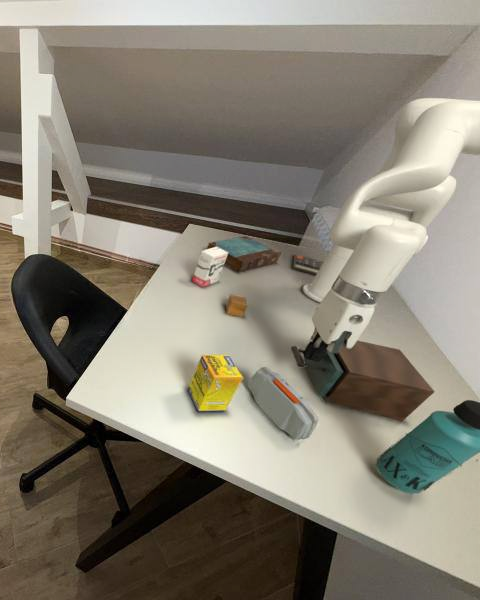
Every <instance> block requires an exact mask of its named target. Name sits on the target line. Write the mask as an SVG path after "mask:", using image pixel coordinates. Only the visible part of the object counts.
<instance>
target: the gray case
mask: <svg viewBox="0 0 480 600" xmlns="http://www.w3.org/2000/svg"><path fill="white" fill-rule="evenodd" d="M247 385H248V388H249V390H250V392H251V394H252V395H253V399H254V402H255V403H256V404H257V406H258V407H259V408H260V410H261V411H262V412H263V413H264V415H266V416H267V418H268V419H269V420H270V421H271V422H272V423H273V424H274V425H275V426H276V427H277V428H278V429H280V430H282V431H284V432H286V433H287V434H288V435H289V436H291V438H293V439H294V440H298V441H299V440H308V439H309V438H310V437H311V436H312V435H313V432H314V430H315V429H316V428H317V424H318V422H319V419H320V418H319V416H318V414H316V412H315V411H314V409H313V408H312V406H311V405H310V403H309V402H308V401H307V399H306V398H305V397H303V395H302V394H300V393H299V392H298V391H297V390H296V389H295V388H294V387H293V386H292V385H291V384H290V383H289V381H287V380H286V379H285V378H284V377H283V376H281V374H279V373H277V372H275V371H273V370H271V369H270V368H269V367H267V366H262V367H260V368H259V369H258V370H256V371H255V373H254V374H253V375H252V376H251V377H250V378H249V380H248V381H247Z"/></svg>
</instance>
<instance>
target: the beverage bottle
mask: <svg viewBox="0 0 480 600" xmlns="http://www.w3.org/2000/svg"><path fill="white" fill-rule="evenodd" d="M452 409H453V411H447V410H434V411H433V412H431V413H430V415H429V416H427V418H425V419H424V420H422V421H421V422H420V423H419V424H418V425H417V426H415V427H414V428H413V429H412V430H411V431H409V432H407V433H405V435H403V436H402V437H400V438H399V439H397V441H395V443H393V444H391V446H389V447H388V448H387V449H386V450H384V452H382V453H381V455H379V457H377V459H376V462H375V463H376V464H375V466H376V469H377V471H378V473H379V474H380V475H381V477H383V479H384V480H385V481H386V482H388V484H390V485H391V486H393V487H394V488H396V489H398V490H399V491H401V492H403V493H407V494H410V495H411V494H412V495H413V494H420V493H422V492H426V491H427V490H428V489H430V488H431V487H432V486H435V485H436V484H438V483H439V481H441V480H443V479H444V478H446V477H447V476H448V475H449V474H453V472H454V471H455V470H456V469H458V468H462V466H463V464H465V463H466V462H468V461H469V460H471V459H472V458H473V457H475V456H476V455H477V454H479V453H480V401H476V400H473V399H466V400H463V401H462V402H460V403H459V404H457V405H455V406H454V407H453V408H452Z"/></svg>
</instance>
